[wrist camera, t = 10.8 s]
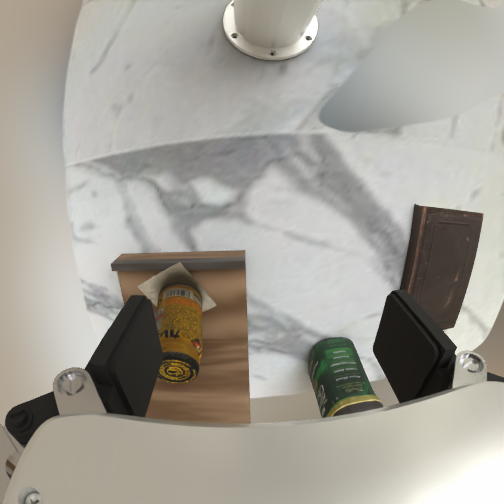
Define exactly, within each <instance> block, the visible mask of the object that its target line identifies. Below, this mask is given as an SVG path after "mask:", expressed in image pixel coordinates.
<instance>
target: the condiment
mask: <svg viewBox="0 0 504 504" xmlns="http://www.w3.org/2000/svg"><path fill="white" fill-rule="evenodd" d="M137 287H138V288H139V289H140V290H141V292H143V293H144V294H145V296H146V297H147V298H148V299H150V300H151V301H152V303H153V304H154V305H155V306H156V307H157V308H156V314H155V321H156V325H157V330H158V334H159V339H160V343H161V347H162V351H163V361H162V364H161V367H160V370H159V373H158V376H157V377H158V378H160V379H161V380H163V381H166V382H169V383H175V384H179V383H187V382H190V381H193V380H194V379H195V378H196V377H197V375H198V373H199V370H200V369H199V364H200V357H201V355H202V350H203V349H202V346H203V344H202V312H204V311H206V310H209V309H211V308H213V307H215V306H217V305H216V304H215V302H214V301H213V300H212V299H211V298H210V296H209V295H208V294H207V293H206V292H205V290H204V289H203V288H202V287H201V286H200V285H199V284H198V283H197V282H196V281H195V279H194V278H193V277H192V276H191V274H190V273H189V272H188V271H187V270H186V269H185V268H184V266H183V265H182V264H181V263H180V262H179V263H177V264H175V265H173V266H171V267H169V268H168V269H166V270H164V271H162V272H160V273H159V274H157V275H155V276H153V277H152V278H150V279H149V280H147V281H145V282H144V283H142V284H141V285H139V286H137Z"/></svg>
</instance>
